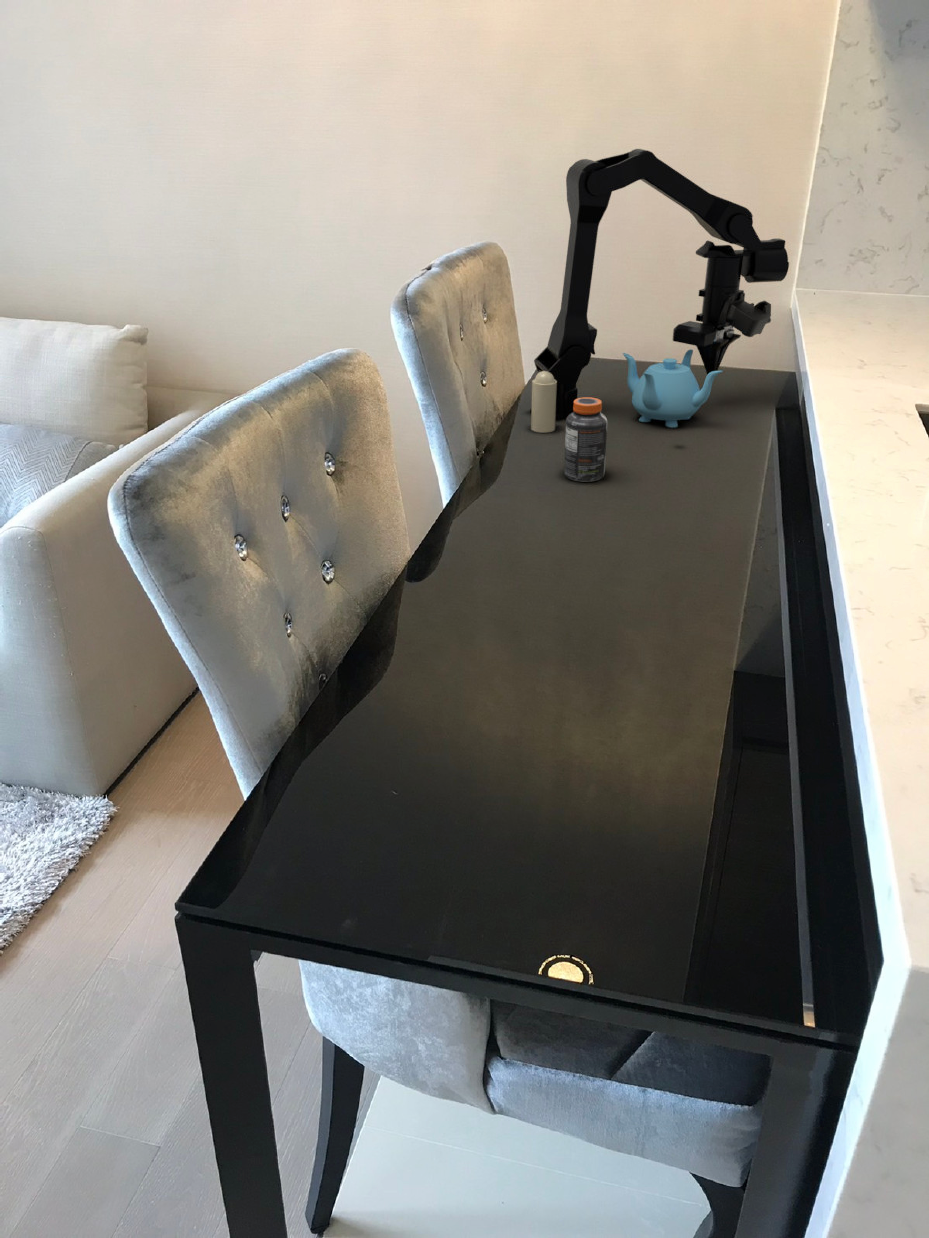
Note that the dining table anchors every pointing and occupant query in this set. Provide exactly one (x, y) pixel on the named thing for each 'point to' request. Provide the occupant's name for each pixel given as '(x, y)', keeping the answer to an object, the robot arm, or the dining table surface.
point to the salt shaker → (543, 402)
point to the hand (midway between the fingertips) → (711, 376)
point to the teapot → (667, 390)
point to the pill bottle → (585, 441)
